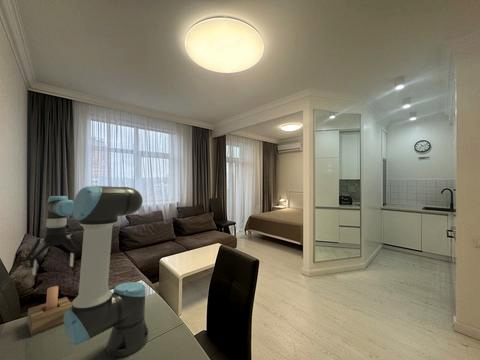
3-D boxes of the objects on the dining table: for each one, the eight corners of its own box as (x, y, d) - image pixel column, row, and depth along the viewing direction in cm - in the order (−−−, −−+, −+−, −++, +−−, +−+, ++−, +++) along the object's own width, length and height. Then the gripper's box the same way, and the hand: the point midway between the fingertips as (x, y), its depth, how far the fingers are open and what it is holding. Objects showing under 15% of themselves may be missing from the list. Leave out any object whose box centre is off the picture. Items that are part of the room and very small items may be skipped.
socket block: (72, 320, 96) (73, 305, 97) (31, 336, 85) (32, 319, 86) (65, 310, 105) (66, 296, 105) (27, 324, 94) (28, 308, 94)
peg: (57, 319, 96) (59, 287, 97) (45, 323, 93) (48, 290, 94) (55, 316, 98) (57, 285, 99) (44, 320, 95) (46, 288, 96)
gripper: (84, 223, 111) (82, 261, 109) (18, 229, 91) (14, 276, 89) (88, 224, 106) (86, 264, 105) (20, 231, 87) (16, 280, 85)
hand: (53, 270), depth 97 cm, fingers open, 13 cm apart
